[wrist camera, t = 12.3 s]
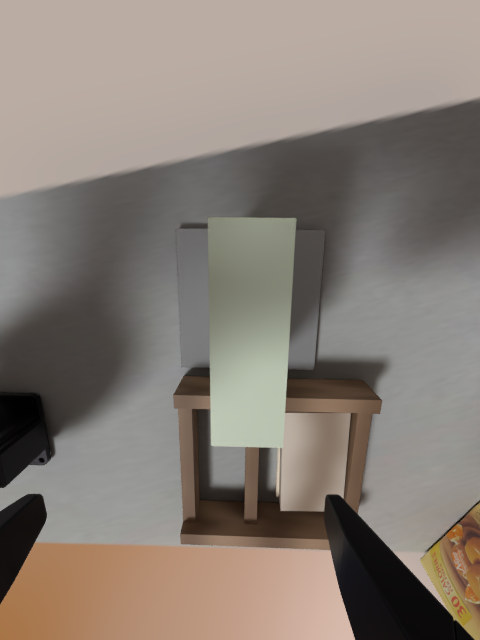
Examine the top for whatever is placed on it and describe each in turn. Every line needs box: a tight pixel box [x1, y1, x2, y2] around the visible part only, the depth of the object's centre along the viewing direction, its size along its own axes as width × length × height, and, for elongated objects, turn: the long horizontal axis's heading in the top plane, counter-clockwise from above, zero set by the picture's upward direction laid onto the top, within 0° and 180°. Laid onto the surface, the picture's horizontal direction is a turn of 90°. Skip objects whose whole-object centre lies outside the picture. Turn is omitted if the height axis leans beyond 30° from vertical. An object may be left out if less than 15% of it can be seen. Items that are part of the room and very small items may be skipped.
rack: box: [173, 376, 382, 550], centre depth 21 cm, size 14×13×3 cm
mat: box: [176, 228, 326, 370], centre depth 19 cm, size 10×10×1 cm
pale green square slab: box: [208, 217, 296, 448], centre depth 14 cm, size 3×9×9 cm, turn 179°
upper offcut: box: [279, 411, 351, 511], centre depth 21 cm, size 5×9×1 cm, turn 1°
